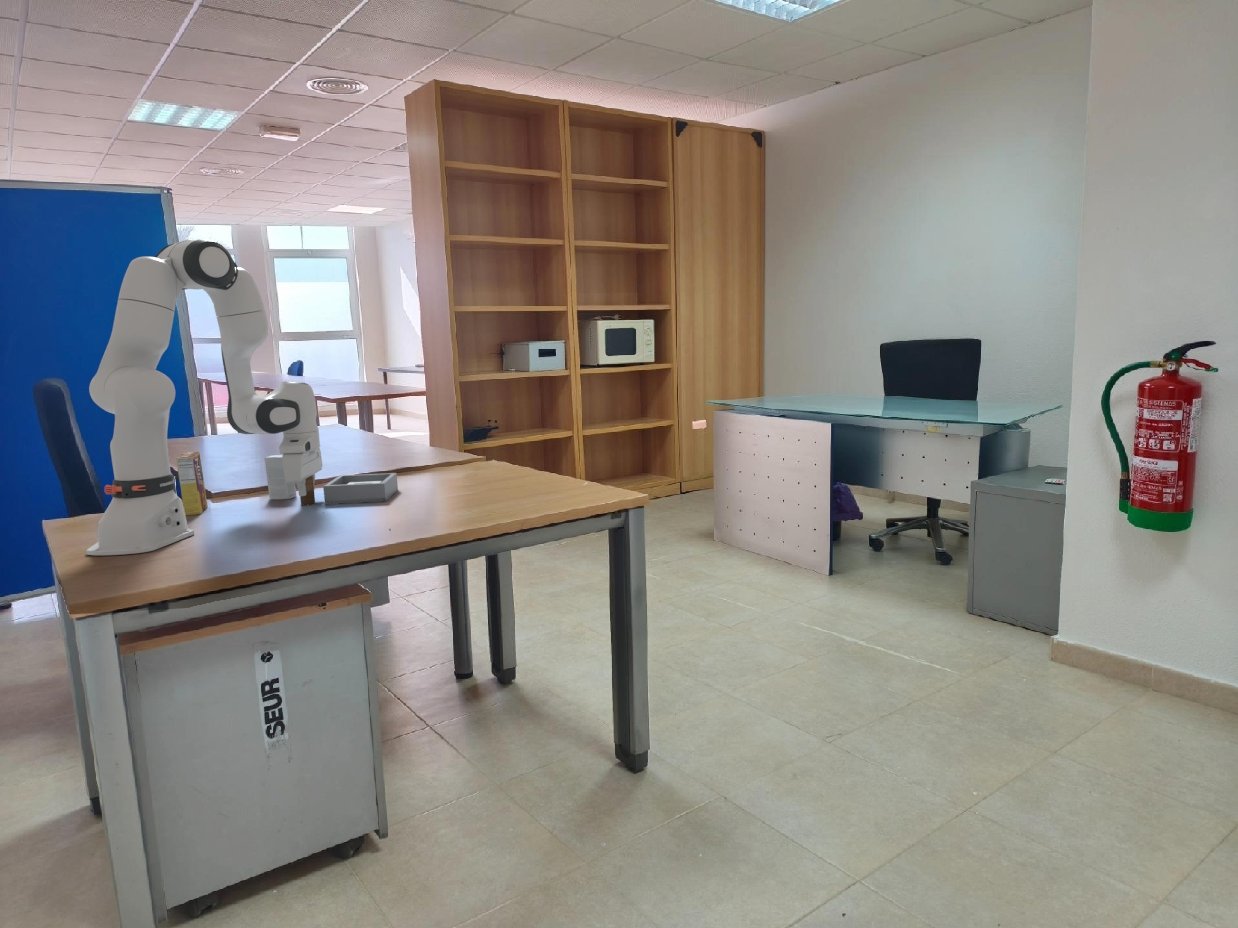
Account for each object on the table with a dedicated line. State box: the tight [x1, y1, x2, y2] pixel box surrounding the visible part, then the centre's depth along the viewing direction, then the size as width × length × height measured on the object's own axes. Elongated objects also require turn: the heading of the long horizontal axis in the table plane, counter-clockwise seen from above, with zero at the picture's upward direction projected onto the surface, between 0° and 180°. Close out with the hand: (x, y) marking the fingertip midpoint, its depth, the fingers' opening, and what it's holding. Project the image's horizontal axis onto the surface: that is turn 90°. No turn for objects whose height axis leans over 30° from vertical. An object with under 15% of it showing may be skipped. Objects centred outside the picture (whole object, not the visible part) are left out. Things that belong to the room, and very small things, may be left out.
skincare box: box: [264, 454, 297, 501], centre depth 222 cm, size 6×4×12 cm
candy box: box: [175, 451, 208, 516], centre depth 207 cm, size 9×4×15 cm, turn 17°
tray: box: [322, 472, 399, 505], centre depth 220 cm, size 16×16×5 cm
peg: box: [299, 476, 316, 506], centre depth 213 cm, size 4×4×8 cm
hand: (307, 493), depth 213 cm, fingers open, 5 cm apart
